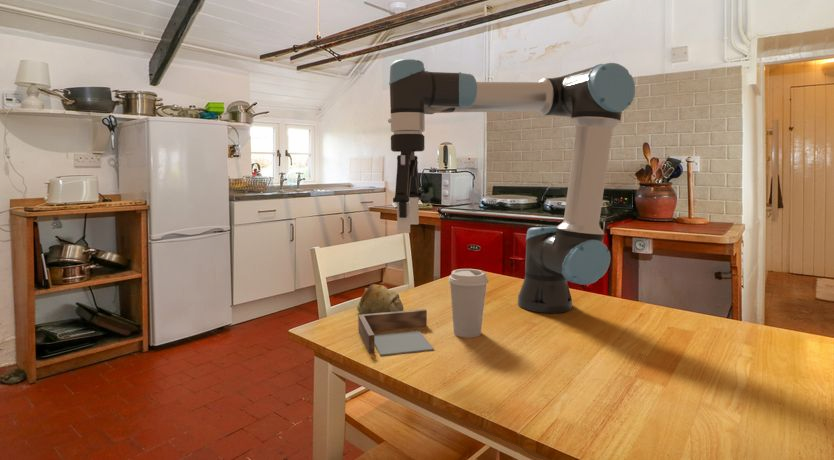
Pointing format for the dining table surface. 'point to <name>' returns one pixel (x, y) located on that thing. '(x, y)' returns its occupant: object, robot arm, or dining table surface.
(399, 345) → the pad
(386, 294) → the pastry
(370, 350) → the walnut corner walls
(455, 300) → the coffee cup
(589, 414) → the dining table surface
